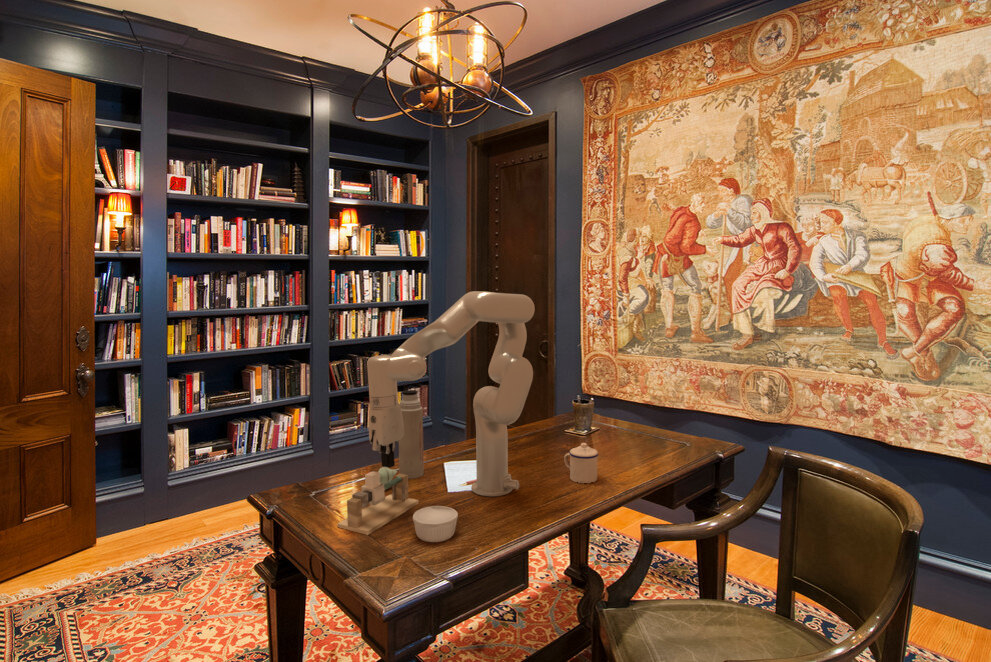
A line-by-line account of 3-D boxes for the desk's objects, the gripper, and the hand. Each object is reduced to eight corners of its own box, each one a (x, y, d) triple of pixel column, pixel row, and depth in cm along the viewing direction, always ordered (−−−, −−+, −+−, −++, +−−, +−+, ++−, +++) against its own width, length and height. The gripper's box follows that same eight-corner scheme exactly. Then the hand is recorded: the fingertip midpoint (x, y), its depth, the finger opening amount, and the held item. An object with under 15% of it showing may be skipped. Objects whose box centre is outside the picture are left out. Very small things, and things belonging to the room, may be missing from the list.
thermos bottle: (426, 471, 184) (425, 388, 181) (418, 479, 176) (417, 393, 173) (404, 469, 185) (402, 388, 183) (395, 477, 177) (393, 392, 175)
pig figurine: (377, 494, 164) (377, 472, 163) (369, 490, 167) (369, 468, 166) (399, 486, 170) (398, 465, 169) (391, 483, 172) (391, 462, 172)
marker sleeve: (371, 497, 149) (370, 470, 148) (384, 500, 147) (383, 472, 146) (361, 502, 145) (360, 474, 145) (375, 505, 143) (374, 477, 143)
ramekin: (462, 526, 142) (462, 506, 141) (452, 546, 131) (451, 525, 130) (420, 523, 144) (420, 504, 143) (407, 543, 133) (406, 522, 132)
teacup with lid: (603, 478, 175) (603, 443, 174) (587, 486, 169) (587, 449, 168) (572, 470, 184) (573, 436, 183) (556, 477, 177) (556, 442, 176)
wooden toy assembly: (390, 497, 161) (389, 469, 160) (418, 503, 156) (417, 474, 156) (337, 527, 141) (336, 495, 141) (367, 535, 137) (366, 501, 136)
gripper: (377, 408, 140) (382, 477, 142) (411, 395, 154) (415, 459, 155) (354, 406, 144) (359, 473, 146) (389, 394, 157) (394, 456, 159)
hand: (388, 466), depth 151 cm, fingers closed
